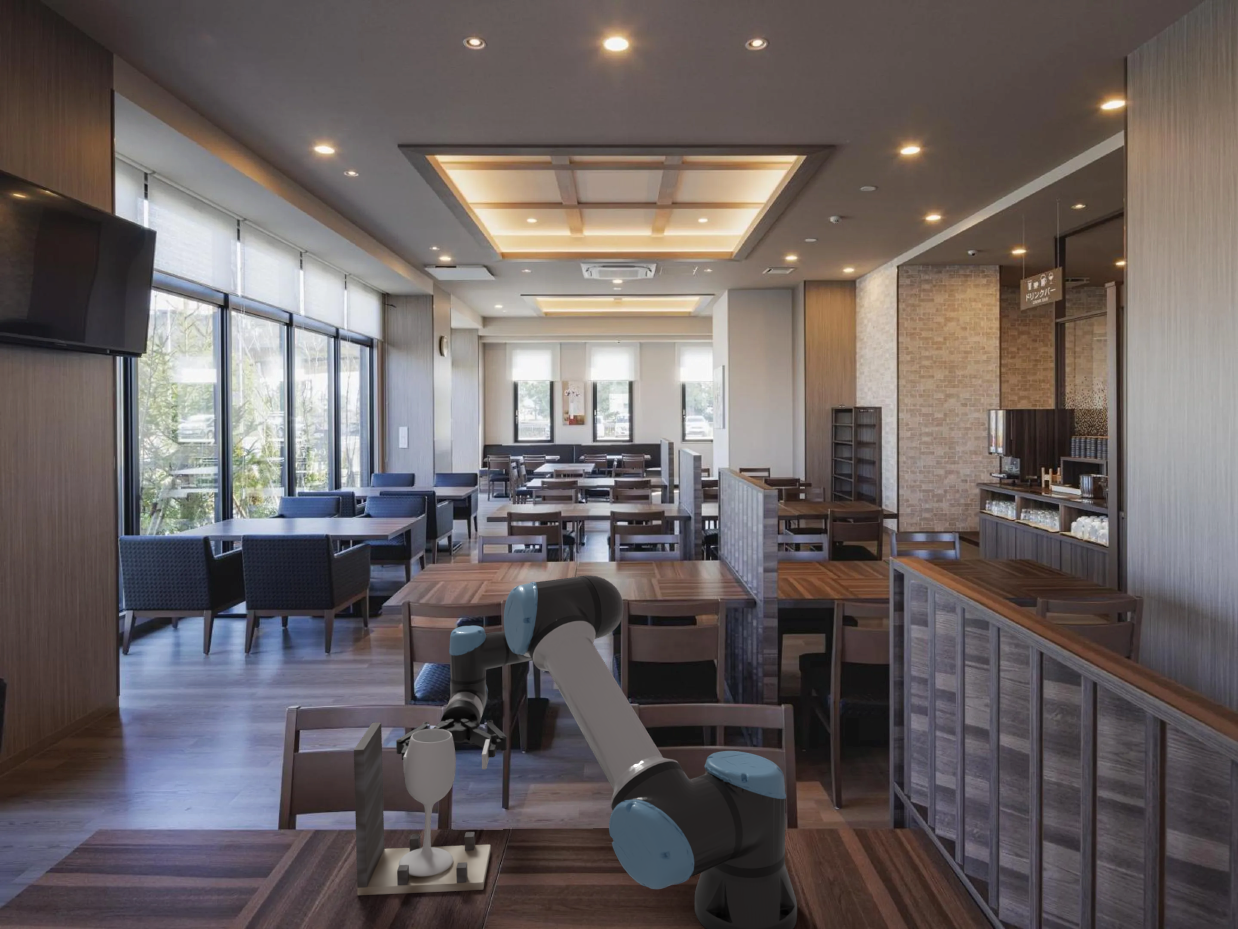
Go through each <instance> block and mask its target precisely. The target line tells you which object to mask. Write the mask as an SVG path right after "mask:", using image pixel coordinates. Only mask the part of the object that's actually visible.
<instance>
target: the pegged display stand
mask: <svg viewBox="0 0 1238 929" xmlns="http://www.w3.org/2000/svg"><path fill="white" fill-rule="evenodd" d="M382 732H383V731H382V722H381V721H380V722H372V723H371V724H370V726H369V727H368V728H367V730H366V731H365V733H364V734H363V736H362V738H360V739H359V741H358V743H357V744H356V745H355V747H354V749H353V769H354V771H353V772H354V774H353V776H354V806H355V807H354V808H355V809H354V811H355V812H354V814H355V815H354V816H355V843H356V844H355V846H356V847H355V848H356V849H355V850H356V851H355V852H356V854H355V855H356V885H357V886H356V887H357V888H356V890H357V896H368V895H369V896H372V895H391V894H394V895H395V894H415V893H416V894H417V893H437V892H438V893H439V892H442V893H443V892H455V891H456V892H460V891H461V892H462V891H482V890H484V886H485V882H486V876H487V871H488V866H489V861H490V857H491V851H492V850H491V844H476V841H475V840H476V838H475V837H476V836H475V835H476V834H475V831H466V832H465V834H464V845H445V846H444V845H443V846H434V847H435V848H440V849H443V850H446V851H447V852H449V853H450V854H451V855H452V857H453V863H452V865H451V866H450V867H449V868H448V869H447V870H445V871H443V872H441V873H439V874H435V875H431V876H413V875H409V865H399V861H400V859H401V858H402V857H403V856H404V855H405V854H407V853H409V852H411V851H413V850H416V849H419V848H423V846H422V847H421V833H419V834H418V833H417V834H414V833H413V834H411V835H410V837H409V847H399V848H398V847H397V848H395V847H394V848H385V828H384V827H385V822H384V817H385V816H384V814H385V813H384V792H383V791H384V787H383V786H384V783H383V782H384V781H383V780H384V778H383V774H384V773H383V745H382V744H383V741H382V739H383V737H382Z"/></svg>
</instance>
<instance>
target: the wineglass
mask: <svg viewBox="0 0 1238 929" xmlns="http://www.w3.org/2000/svg"><path fill="white" fill-rule="evenodd" d="M455 747H456V746H455V742H454V741H453V736H452V734H451V733H450V732H449V731H447V730H443V729H424V730H420V731H417V732H415V733H414V734H412V736H411V738H410V742H409V745H408V749H407V754H406V760H405V772H404V783H405V787H406V790H407V793H409V795H410V796H411V797H412V798H413V799H414V800H416V801H417V802H418V803H421V804H422V805H423V808H424V830H423V831H424V833H423V843H422V847H423V848H419V849H416V850H413V851H411V852H409V853H407V854H405V855H404V856H403V857H402V858H401V859H400V861H399V865H409V875H413V876H431V875H435V874H439V873H441V872H443V871H445V870H447V869H448V868H449V867H450V866H451V865H452V863H453V857H452V855H451V854H450V853H449V852H447V851H446V850H443V849H440V848H435V847H436V846H432V843H431V842H432V840H431V830H432V829H431V828H432V823H431V822H432V814H433V813H432V812H433V808H434V805H435V804H436V803H438V802H439V801H440V800H442V799H444V797H445V796H447V794H448V793H449V792H450V790H451V788H452V787H453V785H454V782H455V777H456V768H457V767H456V766H457V761H456V760H457V759H456V750H455Z"/></svg>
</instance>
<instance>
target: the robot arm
mask: <svg viewBox="0 0 1238 929" xmlns="http://www.w3.org/2000/svg"><path fill="white" fill-rule="evenodd" d="M623 615H624V600H623V597H622V595H621V593H620V591H619V589H618V588H617V587H616V586H615V585H614V584H613V583H612V582H610V581H609V580H608V579H605V578H603V577H601V576H597V575H589V574H588V575H587V574H586V575H579V576H572V577H565V578H558V579H549V580H548V579H547V580H542V581H530V582H529V583H523V584H520V585H516V586H515V587H513V588H512V589H511V590H510V592H509V593H508V595H507V598H506V600H505V605H504V611H503V626H504V627H503V628H504V630H502V631H493V632H489V633H486V630H485V629H484V627H482V626H479V625H462V626H459V627H455V628H454V629H452V631H451V633H450V638H449V650H448V653H449V666H450V670H449V672H450V679H449V680H450V681H449V682H450V683H449V684H450V688H449V689H450V691H449V692H450V698H449V699H448V700H449V701H448V704H447V705H446V707H445V709H444V712H443V714H442V716H441V719H440V722H439V723H437V724H436V725H431V724H430V722H429V721H423V722H422V723H421V724H420V726H418V727H416V728H414V729H413V730H411V731H410V732H408V733H405V734H404V735H403V736H401V737H399V738H397V739H396V741H395V743H396V744H395V745H396V755H401V761H402V762H403V773H405V760H406V754H407V749H408V745H409V742H410V738H411V736H412V734H414V733H415V732H417V731H420V730H424V729H443V730H447V731H449V732H450V733H451V734H452V736H453V741H454V743H465V742H466V743H467V744H469V745H473V744H475V745H476V746H478V747H481V748H482V753H481V770H487V768H488V763H489V760H490V758H495V756H496V755H497V754H496V753H497V751H498V750H500V751H502V752H503V751H504V752H505V751H507V749H508V746H507V744H508V743H507V742H508V740H507V739H508V738H507V735H506V734H505V733H504V732H503V731H502V730H500V729H499V728H498V727H497V726H496V724H494V720H493V719H488V720H486V722H484V724H481V723H480V722H481V720H482V716H483V713H484V711H485V708H486V705H487V702H488V698H489V697H488V695H489V694H488V693H489V690H488V686H487V681H486V680H487V670H489V669H494V668H499V667H504V666H508V665H513V664H514V665H515V664H519V663H524V662H533V664H534V665H535V667H536V668H537V669H538V670H540V671H545V672H549V674H550V676H551V678H552V680H553V681H554V683H555V685H556V687H557V688H558V691H559V693H560V694H561V696H562V698H563V700H564V702H565V704H566V705H567V708H568V709H569V711H570V713H571V715H572V716H573V718H574V720H575V722H576V723H577V725H578V728H579V729H580V731H581V732H582V735H583V737H584V738H585V740H586V742H587V744H588V746H589V747H590V750H591V752H592V753H593V755H594V757H595V759H596V761H597V763H598V764H599V766H600V767H601V769H602V772H603V773H604V775H605V777H606V778H607V780H608V782H609V784H610V786H611V788H612V790H613V793H612V796H611V799H610V808H611V810H612V811H611V813H610V817H609V823H608V832H609V837H611V838H612V840H613V841H611V845H612V849H613V852H614V853H615V855H616V857H617V859H618V861H619V863H620V865H621V866H622V868H623V870H625V871H626V873H627V874H628V875H629V877H631V878H632V879H633V881H635V882H636V883H638V884H639V885H641V886H643V887H647V888H649V889H651V890H661V889H665V888H667V887H670V886H673V885H680V884H682V883H685V882H687V881H688V880H690V878H692V877H695V876H697V875H699V874H700V875H699V879H698V881H697V885H696V887H695V892H694V913H695V916H696V918H697V920H698V922H700V924H701V925H702V926H703V927H704V928H705V929H794V928H795V926H796V924H797V920H798V905H797V904H798V902H797V897H796V894H795V891H794V889H793V885H792V881H791V878H790V876H789V872H788V869H787V866H786V861H785V860H786V851H785V850H786V798H787V794H786V786H785V785H786V784H785V776H784V772H783V770H782V769H781V768H780V767H779V766H778V765H777V764H776V763H775V762H773V761H772V760H770V759H767V758H765V756H760V755H758V754H754V753H751V752H746V751H745V752H744V751H738V750H737V751H735V750H725V751H717V752H713V753H711V754H710V755H708V756H707V758H706V760H705V764H704V769H705V773H704V774H701V775H700V776H696V777H693V778H689V776H688V775H687V774H686V773H685V771H684V769H683V768H682V766H681V764H680V763H679V762H678V761H677V760H676V759H672V758H666V757H663V755H662V753H661V752H660V750H659V749H658V747H657V745H656V744H655V742H654V740H653V739H652V737H651V736H650V734H649V733H648V731H647V729H646V727H645V726H644V724H643V723H642V721H641V719H640V718H639V716H638V714H637V713H636V711H635V710H634V707H633V706H632V704H631V703H630V702H629V700H628V698H627V696H626V695H625V693H624V691H623V689H622V688H621V687H620V685H619V684H618V682H617V680H616V678H615V677H614V676H613V674H612V672H611V670H610V669H609V667H608V666H607V663H606V662H605V661H604V659H603V658H602V656H601V654H600V652H599V651H598V649H597V648H596V646H595V645H594V642H595V640H597V639H600V638H603V637H606V636H607V635H609V634H611V633H612V632H613V631H615V629H616V628H617V627H618V626H619V625H620V623H621V621H622V619H623Z"/></svg>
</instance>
